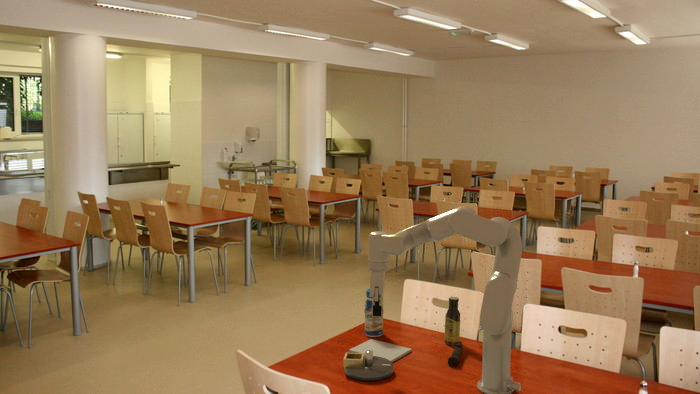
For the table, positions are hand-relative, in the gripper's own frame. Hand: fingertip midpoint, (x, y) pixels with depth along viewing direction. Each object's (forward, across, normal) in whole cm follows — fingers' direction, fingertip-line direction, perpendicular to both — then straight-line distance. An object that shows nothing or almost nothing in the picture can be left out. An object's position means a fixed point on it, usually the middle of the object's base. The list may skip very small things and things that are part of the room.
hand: (377, 313), depth 229 cm
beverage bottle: (+22, -41, -4) cm, 47 cm away
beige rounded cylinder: (+4, 0, 0) cm, 4 cm away
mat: (+22, -20, 0) cm, 30 cm away
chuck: (+22, +1, -3) cm, 22 cm away
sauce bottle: (+22, -33, +30) cm, 50 cm away
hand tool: (+22, -17, +30) cm, 41 cm away
